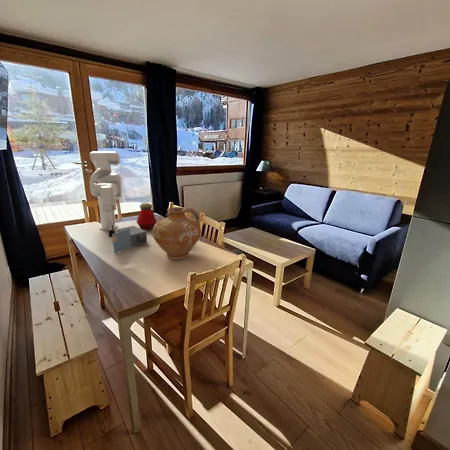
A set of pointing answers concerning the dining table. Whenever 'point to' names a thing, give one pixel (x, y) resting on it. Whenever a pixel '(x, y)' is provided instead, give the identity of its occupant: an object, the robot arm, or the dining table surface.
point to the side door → (121, 240)
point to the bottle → (146, 217)
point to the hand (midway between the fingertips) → (112, 236)
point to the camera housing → (136, 235)
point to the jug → (178, 232)
